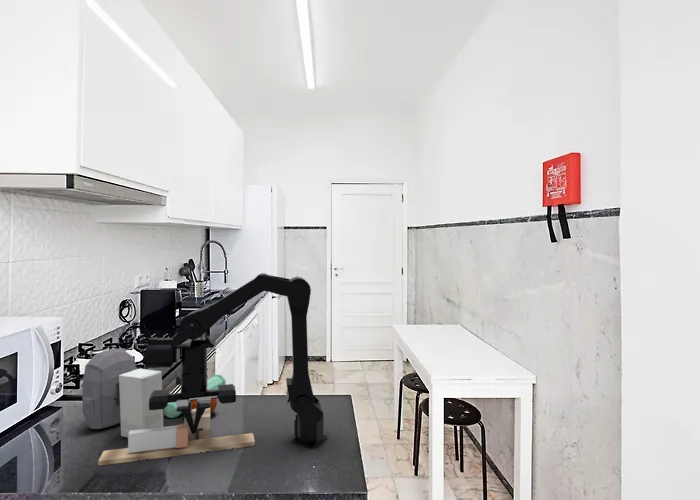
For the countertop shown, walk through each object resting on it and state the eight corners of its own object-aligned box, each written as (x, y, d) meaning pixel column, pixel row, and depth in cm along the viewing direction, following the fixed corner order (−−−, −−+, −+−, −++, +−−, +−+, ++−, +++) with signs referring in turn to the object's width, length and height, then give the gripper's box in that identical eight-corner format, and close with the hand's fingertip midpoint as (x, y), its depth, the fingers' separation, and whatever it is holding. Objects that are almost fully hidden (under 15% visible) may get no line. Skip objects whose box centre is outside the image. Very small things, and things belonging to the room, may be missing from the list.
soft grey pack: (126, 412, 125) (126, 341, 125) (148, 416, 122) (148, 344, 122) (74, 432, 111) (74, 353, 111) (97, 438, 108) (97, 357, 108)
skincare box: (164, 432, 112) (164, 371, 112) (142, 443, 106) (142, 378, 106) (140, 426, 115) (140, 367, 115) (118, 436, 109) (118, 373, 109)
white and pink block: (188, 441, 104) (188, 423, 104) (187, 446, 101) (187, 428, 101) (130, 448, 100) (130, 429, 100) (127, 454, 97) (127, 435, 97)
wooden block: (210, 441, 107) (210, 416, 107) (183, 444, 105) (183, 419, 105) (210, 430, 113) (210, 407, 113) (185, 433, 111) (185, 410, 111)
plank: (252, 437, 109) (252, 433, 109) (254, 445, 105) (254, 441, 105) (103, 455, 100) (103, 450, 100) (98, 465, 95) (98, 461, 95)
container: (173, 398, 120) (222, 371, 144) (156, 404, 121) (207, 376, 146) (181, 418, 120) (228, 388, 144) (163, 425, 121) (213, 393, 145)
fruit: (211, 422, 118) (211, 392, 118) (178, 422, 119) (178, 392, 118) (221, 410, 127) (221, 382, 127) (190, 409, 127) (190, 382, 127)
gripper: (233, 355, 113) (233, 416, 113) (154, 360, 108) (154, 424, 108) (236, 367, 103) (235, 433, 103) (148, 373, 97) (148, 443, 97)
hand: (193, 433), depth 103 cm, fingers closed
